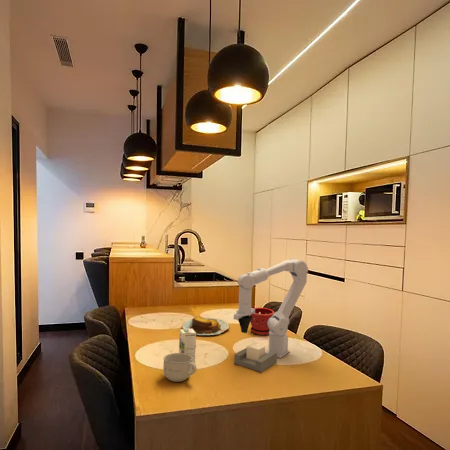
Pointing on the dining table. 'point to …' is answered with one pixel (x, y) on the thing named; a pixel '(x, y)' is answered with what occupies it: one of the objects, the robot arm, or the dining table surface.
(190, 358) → the teacup
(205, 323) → the food on plate
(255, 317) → the plant pot
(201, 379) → the dining table surface
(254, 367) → the socket
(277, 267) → the robot arm
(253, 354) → the cream cube
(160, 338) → the dining table surface
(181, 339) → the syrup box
